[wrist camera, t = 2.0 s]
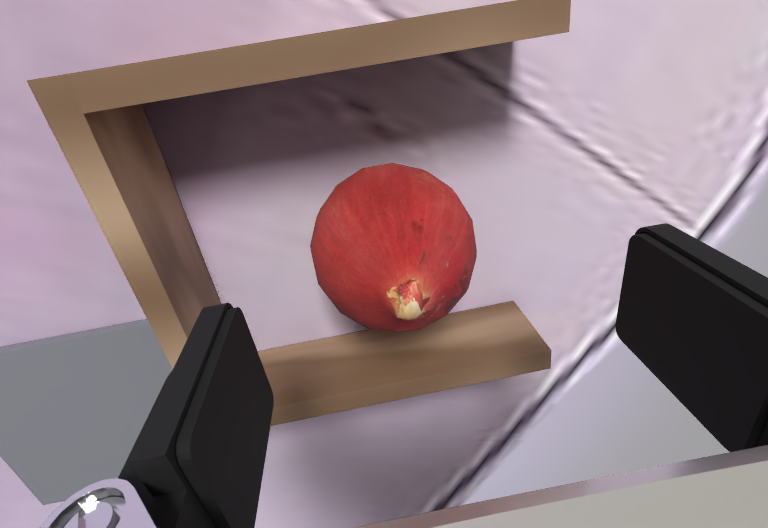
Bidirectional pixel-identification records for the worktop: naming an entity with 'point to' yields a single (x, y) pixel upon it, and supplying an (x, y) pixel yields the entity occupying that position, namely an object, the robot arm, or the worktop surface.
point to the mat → (77, 405)
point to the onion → (393, 248)
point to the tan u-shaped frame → (179, 247)
